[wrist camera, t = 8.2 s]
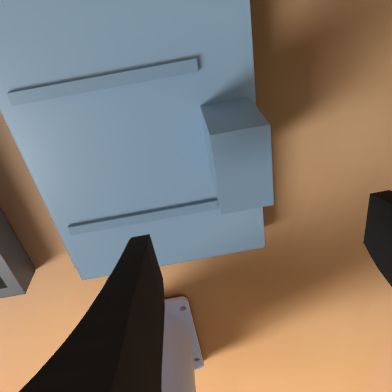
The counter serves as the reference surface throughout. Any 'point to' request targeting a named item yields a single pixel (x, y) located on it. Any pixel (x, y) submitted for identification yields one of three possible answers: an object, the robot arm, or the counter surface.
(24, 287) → the grey rectangular tray
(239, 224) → the lid
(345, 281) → the counter surface
